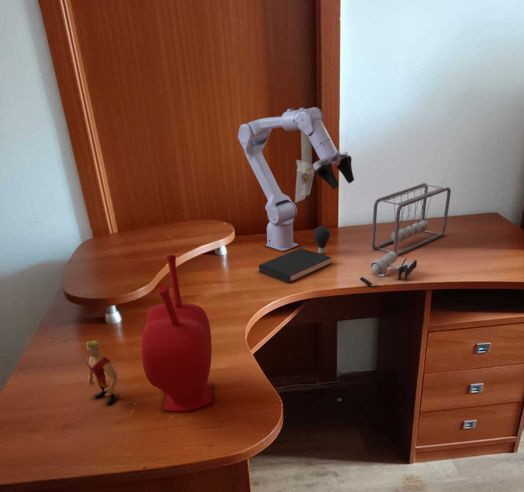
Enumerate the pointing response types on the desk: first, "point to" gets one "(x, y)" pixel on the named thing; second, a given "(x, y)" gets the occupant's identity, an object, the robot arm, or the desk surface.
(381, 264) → the clip-on lamp
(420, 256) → the desk surface
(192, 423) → the desk surface
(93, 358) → the action figure
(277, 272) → the notebook
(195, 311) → the novelty television
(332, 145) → the robot arm
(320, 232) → the light bulb
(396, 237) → the newton's cradle
